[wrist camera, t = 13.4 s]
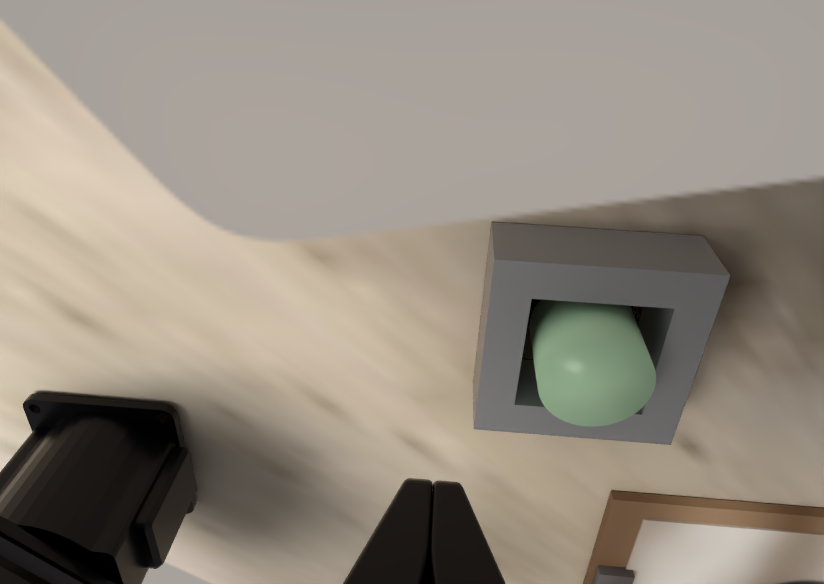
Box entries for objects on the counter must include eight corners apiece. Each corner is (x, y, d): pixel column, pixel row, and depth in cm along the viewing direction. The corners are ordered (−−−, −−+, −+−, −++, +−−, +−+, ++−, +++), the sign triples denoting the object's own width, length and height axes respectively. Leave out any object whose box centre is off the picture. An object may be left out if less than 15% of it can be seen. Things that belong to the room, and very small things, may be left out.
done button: (523, 361, 24) (530, 421, 21) (536, 278, 22) (547, 333, 19) (621, 368, 23) (641, 430, 21) (643, 285, 22) (669, 342, 19)
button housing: (473, 382, 25) (473, 429, 23) (491, 221, 21) (494, 259, 19) (652, 396, 25) (670, 444, 23) (703, 235, 21) (730, 275, 19)
